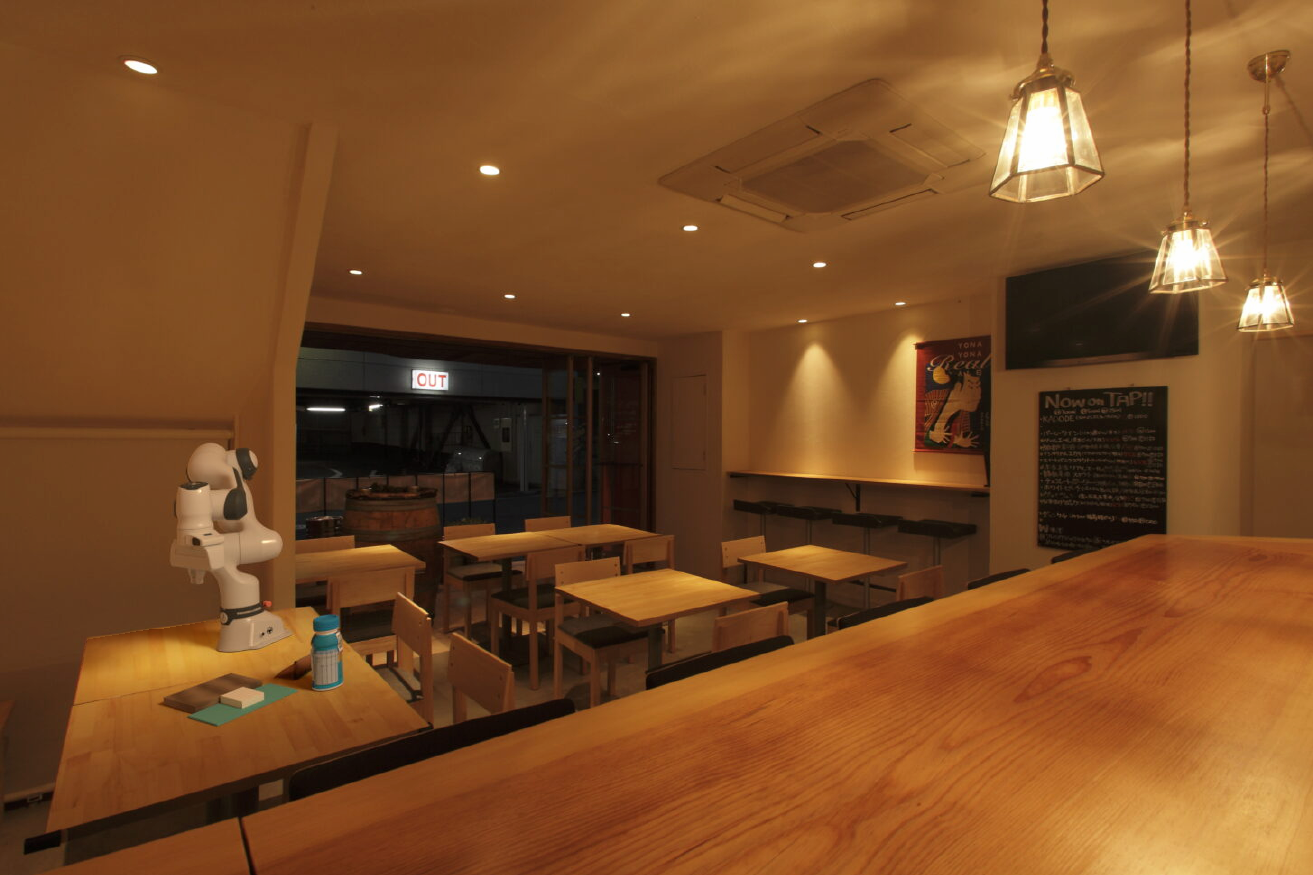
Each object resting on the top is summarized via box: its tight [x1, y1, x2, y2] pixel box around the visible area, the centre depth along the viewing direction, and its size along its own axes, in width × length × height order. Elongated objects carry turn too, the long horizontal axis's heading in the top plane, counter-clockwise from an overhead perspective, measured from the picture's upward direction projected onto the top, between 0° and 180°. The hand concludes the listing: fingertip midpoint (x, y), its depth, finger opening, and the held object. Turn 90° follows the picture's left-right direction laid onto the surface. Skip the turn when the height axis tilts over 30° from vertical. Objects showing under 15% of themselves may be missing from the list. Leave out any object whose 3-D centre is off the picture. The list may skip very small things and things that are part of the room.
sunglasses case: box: [273, 653, 312, 681], centre depth 196 cm, size 18×7×7 cm
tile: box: [221, 687, 264, 709], centre depth 172 cm, size 6×9×2 cm, turn 66°
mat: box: [187, 682, 298, 727], centre depth 172 cm, size 22×12×1 cm, turn 156°
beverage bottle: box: [309, 614, 344, 692], centre depth 182 cm, size 8×8×20 cm
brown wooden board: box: [163, 672, 263, 714], centre depth 177 cm, size 18×14×2 cm
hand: (197, 583), depth 187 cm, fingers closed
